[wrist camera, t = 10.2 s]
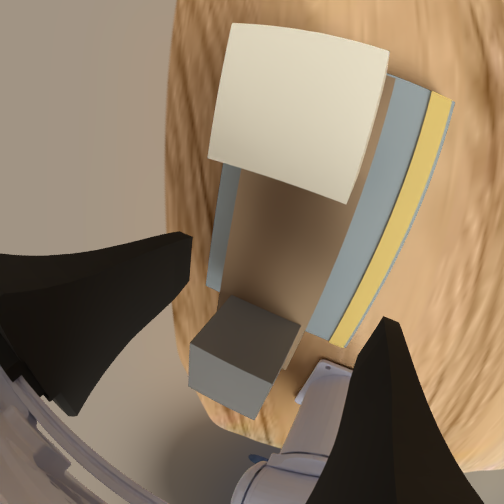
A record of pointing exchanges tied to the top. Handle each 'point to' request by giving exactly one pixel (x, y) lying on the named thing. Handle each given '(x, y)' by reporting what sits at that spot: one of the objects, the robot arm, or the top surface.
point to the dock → (364, 210)
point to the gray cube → (240, 355)
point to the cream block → (297, 106)
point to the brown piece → (290, 239)
